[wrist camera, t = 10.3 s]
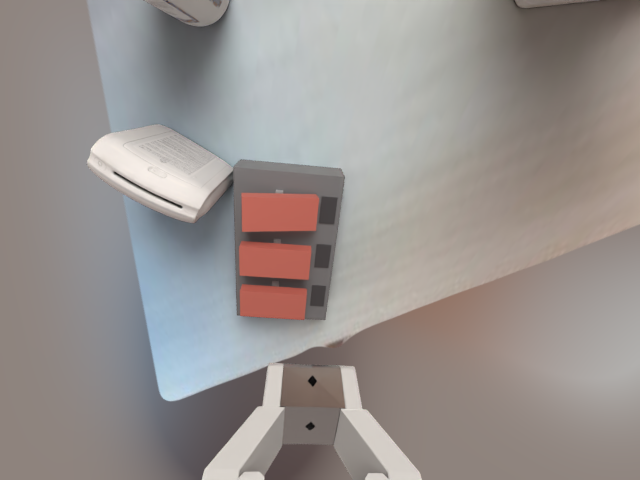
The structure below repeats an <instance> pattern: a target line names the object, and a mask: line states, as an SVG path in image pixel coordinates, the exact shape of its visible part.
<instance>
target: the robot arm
mask: <svg viewBox="0 0 640 480" xmlns="http://www.w3.org/2000/svg"><path fill="white" fill-rule="evenodd" d="M588 1H598V0H515V2H516V4H517V5H518V6H519V7H521V8H532V7H541V6H551V5H560V4H570V3H579V2H588ZM282 444H320V445H334V448H335V450H336V452H337V454H338V455H339V457H340V459H341V461H342V462H343V464H344V465H345V468H346V469H347V471H348V473H349V475H350V476H351V478H352V479H353V480H422V479H421V475H420V472H419V471H418V470H417V469H416V468H415V466H414V465H413V464H412V463H411V462H410V460H409V459H408V458H407V457H406V456H405V454H404V453H403V452H402V451H401V450H400V449H399V447H398V446H397V445H396V444H395V443H394V441H393V440H392V439H391V438H390V437H389V435H388V434H387V433H386V432H385V431H384V430H383V429H382V427H381V426H380V425H379V424H378V423H377V421H376V420H375V419H374V418H373V416H372V415H371V414H370V413H369V412H368V410H363V409H362V404H361V398H360V393H359V387H358V382H357V376H356V371H355V368H354V366H338V365H337V366H336V365H301V364H286V363H284V368H283V363H269V365H268V369H267V376H266V384H265V391H264V398H263V405H262V406H261V407H257V408H256V409H255V410H254V412H253V413H252V414H251V415H250V416H249V418H248V419H247V420H246V421H245V423H243V425H242V426H241V427H240V428H239V429H238V431H237V432H236V433H235V434H234V435H233V436H232V438H231V439H230V440H229V441H228V442H227V444H226V445H225V446H224V447H223V448H222V450H221V451H220V452H219V453H218V454H217V455H216V457H215V458H214V459H213V460H212V461H211V463H210V464H209V465H208V466H207V467H206V468H205V470H204V474H203V477H202V480H264V475H265V473H266V472H267V470H268V469H269V467H270V465H271V464H272V462H273V460H274V459H275V457H276V455H277V454H278V452H279V450H280V448H281V447H282Z"/></svg>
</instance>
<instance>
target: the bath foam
mask: <svg viewBox="0 0 640 480" xmlns="http://www.w3.org/2000/svg"><path fill="white" fill-rule="evenodd" d="M144 1H146V2H147V3H149V4H151V5H153V6H154V7H156V8H158V9H160V10H162V11H163V12H165V13H167V14H169V15H170V16H172V17H174V18H176V19H178V20H180V21H182V22H184V23H186V24H188V25H192V26H198V27H201V26H208V25H210V24H213V23H214V22H216V21H217V20H219V19H220V18H221V17H222V15H223V14H224V12H225V11H226V9H227V7H228V4H229V0H144Z"/></svg>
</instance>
